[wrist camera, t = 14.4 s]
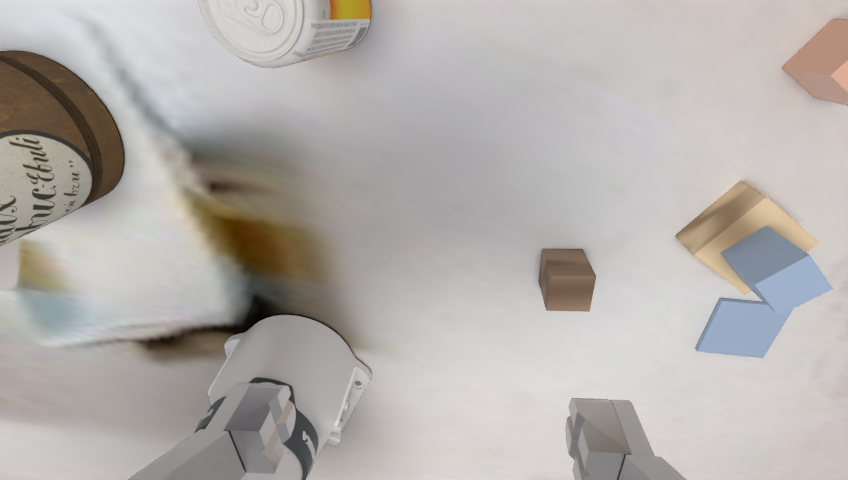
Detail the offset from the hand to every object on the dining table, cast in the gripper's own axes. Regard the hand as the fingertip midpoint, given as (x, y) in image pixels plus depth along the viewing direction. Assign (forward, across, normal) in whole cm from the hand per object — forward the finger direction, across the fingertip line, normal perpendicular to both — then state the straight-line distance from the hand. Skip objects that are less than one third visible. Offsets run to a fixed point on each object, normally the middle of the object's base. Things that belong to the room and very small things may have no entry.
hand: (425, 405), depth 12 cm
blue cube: (+26, -26, +10) cm, 38 cm away
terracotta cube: (+29, -28, -6) cm, 41 cm away
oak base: (+30, -26, +9) cm, 40 cm away
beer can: (+29, +10, -11) cm, 33 cm away
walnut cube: (+29, -11, +13) cm, 34 cm away
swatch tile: (+29, -30, +21) cm, 47 cm away
